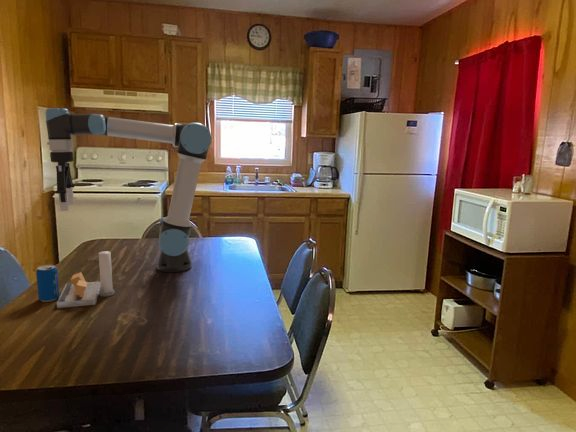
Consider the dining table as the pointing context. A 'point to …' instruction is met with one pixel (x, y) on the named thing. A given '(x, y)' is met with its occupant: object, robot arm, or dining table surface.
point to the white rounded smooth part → (105, 274)
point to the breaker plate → (87, 299)
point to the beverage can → (47, 283)
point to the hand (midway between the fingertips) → (67, 207)
